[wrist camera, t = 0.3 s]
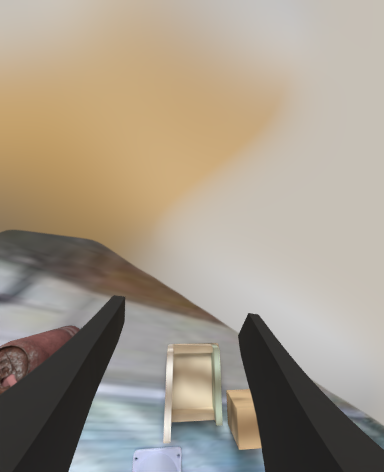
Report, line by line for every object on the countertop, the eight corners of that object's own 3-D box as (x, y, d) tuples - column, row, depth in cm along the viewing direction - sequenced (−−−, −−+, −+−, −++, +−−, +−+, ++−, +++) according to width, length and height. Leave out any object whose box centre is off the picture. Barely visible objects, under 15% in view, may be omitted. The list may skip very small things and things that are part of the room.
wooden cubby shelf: (219, 410, 33) (230, 438, 27) (165, 413, 32) (163, 443, 26) (217, 343, 37) (226, 353, 30) (168, 344, 36) (167, 354, 29)
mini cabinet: (257, 421, 33) (274, 447, 28) (227, 423, 33) (239, 449, 27) (254, 389, 35) (269, 406, 29) (226, 390, 34) (236, 408, 29)
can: (71, 368, 33) (4, 416, 20) (43, 351, 34) (-41, 386, 20) (92, 335, 35) (44, 359, 22) (65, 319, 36) (2, 333, 22)
